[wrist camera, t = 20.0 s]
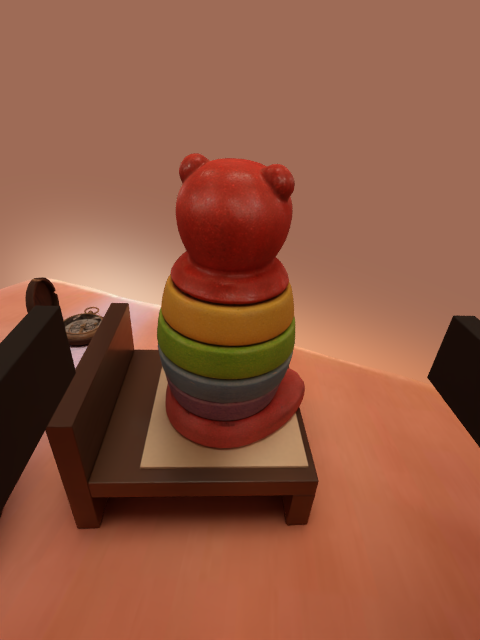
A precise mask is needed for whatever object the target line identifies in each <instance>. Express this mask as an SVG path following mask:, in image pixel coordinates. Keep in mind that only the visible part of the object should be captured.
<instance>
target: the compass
mask: <svg viewBox="0 0 480 640" xmlns="http://www.w3.org/2000/svg"><path fill="white" fill-rule="evenodd" d="M54 291H55V288H54V286H53V284H52V283H51V282H50V281H49V280H48V279H46V278H34V279H32V280H31V282H30V283H29V285H28V288H27V291H26V308H27V312H28V313H29V312H30V311H31V309H32V308H33V307H34V306H35V305H37V306H59V300H58V295H57V294H55V293H54ZM90 308H96V309H98V308H97V307H90ZM90 308H87V309H86V310H88V309H90ZM86 310H85V311H84V312H85V313H84V314H77V315H74V316H71V317H69V318H67V319H65V320H64V325H65V329H66V333H67V338H68V342H69V345H86V344H89V343H90V342H91V340H92V338H93V336H94V334H95V332H96V331H97V329H98V327H99V325H100V323H101V321H102V320H103V318H104V317H101V316H99V315H96V313H98V312H99V309H98V311H97V312H95V313H93V311H89V312H88V313H86Z"/></svg>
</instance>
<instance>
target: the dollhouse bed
mask: <svg viewBox="0 0 480 640" xmlns="http://www.w3.org/2000/svg"><path fill="white" fill-rule="evenodd" d="M288 368H289V366H288ZM75 371H76V374H75V376H74V378H73V379H72V381H71V383H70V385H69V387H68V389H67V391H66V392H65V394H64V396H63V398H62V400H61V402H60V404H59V405H58V407H57V409H56V411H55V413H54V415H53V417H52V418H51V420H50V422H49V424H48V426H47V428H46V429H45V430H46V434H47V437H48V440H49V443H50V446H51V449H52V452H53V455H54V458H55V461H56V464H57V467H58V470H59V473H60V476H61V479H62V482H63V485H64V488H65V491H66V494H67V497H68V500H69V503H70V507H71V510H72V513H73V516H74V519H75V522H76V525H77V528H99V527H100V524H101V521H102V517H103V513H104V510H105V506H106V503H107V499H108V497H171V496H256V495H282V498H283V505H284V511H285V518H286V524H287V525H297V524H307V522H308V519H309V515H310V511H311V508H312V504H313V500H314V497H315V492H316V489H317V485H318V477H317V473H316V469H315V466H314V462H313V458H312V454H311V450H310V446H309V442H308V439H307V435H306V431H305V427H304V423H303V419H302V415H301V412H300V408H298V409H297V411H296V412H295V414H294V415H293V416H292V417H291V418H290V420H288V421H287V422H286V423H285V424H284V425H283V426H282V427H280V428H279V429H278V430H276V431H275V432H273V433H272V434H270V435H268V436H266V437H265V438H262V439H260V440H258V441H256V442H253V443H251V444H248V445H245V446H240V447H234V448H215V447H209V446H204V445H201V444H198V443H195V442H193V441H191V440H189V439H188V438H186V437H184V436H183V435H182V434H180V433H179V432H178V431H177V430H176V429H175V428H174V427H173V425H172V424H171V422H170V421H169V419H168V416H167V413H166V407H165V401H166V390H167V384H168V381H167V378H166V375H165V372H164V370H163V367H162V363H161V359H160V355H159V350H134V344H133V336H132V328H131V320H130V312H129V304H128V303H111V305H110V307H109V308H108V310H107V312H106V314H105V316H104V318H103V320H102V321H101V323H100V325H99V327H98V329H97V331H96V332H95V334H94V336H93V338H92V340H91V342H90V343H89V345H88V347H87V349H86V351H85V353H84V354H83V356H82V358H81V360H80V362H79V364H78V365H77V367H76V369H75Z"/></svg>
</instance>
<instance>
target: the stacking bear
mask: <svg viewBox="0 0 480 640" xmlns="http://www.w3.org/2000/svg"><path fill="white" fill-rule="evenodd" d="M179 174H180V178H181V181H182V183H183V185H182V187H181V189H180V191H179V193H178V197H177V202H176V220H177V226H178V231H179V234H180V237H181V239H182V242H183V244H184V246H185V248H186V250H187V251H186V252H185V253H183V254H182V255H181V256H180V257H179V258H178V259H177V261H176V262H175V264H174V265H173V267H172V269H171V274H170V276H169V277H168V279H167V282H166V285H165V288H164V293H163V297H162V305H161V309H160V312H159V318H158V328H157V339H158V349H159V355H160V359H161V363H162V367H163V370H164V372H165V375H166V378H167V381H168V384H167V390H166V401H165V407H166V413H167V416H168V419H169V421H170V422H171V424H172V425H173V427H174V428H175V429H176V430H177V431H178V432H179V433H180V434H182V435H183V436H184V437H186V438H188V439H189V440H191V441H193V442H195V443H198V444H201V445H204V446H209V447H215V448H234V447H240V446H245V445H248V444H251V443H253V442H256V441H258V440H260V439H262V438H265V437H266V436H268V435H270V434H272V433H273V432H275V431H276V430H278V429H279V428H280V427H282V426H283V425H284V424H285V423H286V422H287V421H288V420H290V418H291V417H292V416H293V415H294V414H295V412H296V411H297V409H298V408H299V406H300V404H301V402H302V399H303V396H304V391H305V386H304V382H303V381H302V379H301V378H300V376H299V375H298V373H297V372H295V371H293V370H291V369H289V368H288V366H289V364H290V361H291V358H292V354H293V348H294V344H295V317H294V303H293V295H292V288H291V285H290V283H289V279H288V274H287V272H286V270H285V268H284V266H283V265H282V263H281V262H280V261H279V260H278V259H277V258H276V255H277V254H278V252H279V251H280V249H281V247H282V246H283V244H284V242H285V240H286V238H287V235H288V232H289V229H290V224H291V220H292V201H291V197H290V196H291V194H292V193H293V190H294V185H295V183H294V178H293V176H292V174H291V173H290V171H289V170H288V169H287V168H286V167H285V166H283V165H280V164H272V165H270V166H268V167H266V166H265V165H262V164H260V163H257V162H254V161H250V160H245V159H234V158H233V159H232V158H225V159H217V160H213V161H209V160H208V159H207V158H205V157H204V156H202V155H201V154H198V153H194V154H190V155H188V156H186V157H185V158H184V160H183V161H182V162H181V165H180V168H179Z"/></svg>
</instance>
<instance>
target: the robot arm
mask: <svg viewBox="0 0 480 640" xmlns="http://www.w3.org/2000/svg"><path fill="white" fill-rule="evenodd" d="M75 374H76V371H75V367H74V363H73V358H72V354H71V350H70V346H69V342H68V338H67V333H66V329H65V325H64V321H63V317H62V312H61V308H60V306H37V305H35V306H34V307H33V308H32V309H31V311H30V312H29V313H28V314H27V315H26V316H25V317H24V318H23V319H22V320H21V321H20V323H19V324H18V325H17V326H16V327H15V328H14V329H13V330H12V331H11V332H10V333H9V334H8V336H7V337H6V338H5V339H4V340H3V341H2V342H1V343H0V513H1V511H2V509H3V507H4V506H5V504H6V502H7V500H8V498H9V496H10V494H11V493H12V491H13V489H14V487H15V485H16V483H17V481H18V480H19V478H20V476H21V474H22V472H23V470H24V468H25V467H26V465H27V463H28V461H29V459H30V457H31V455H32V454H33V452H34V450H35V448H36V446H37V444H38V442H39V441H40V439H41V437H42V435H43V433H44V431H45V429H46V428H47V426H48V424H49V422H50V420H51V418H52V417H53V415H54V413H55V411H56V409H57V407H58V405H59V404H60V402H61V400H62V398H63V396H64V394H65V392H66V391H67V389H68V387H69V385H70V383H71V381H72V379H73V378H74V376H75ZM427 378H428V379H429V380H430V382H431V383H432V384H433V386H434V387H435V388H436V390H437V391H438V392H439V394H440V395H441V396H442V398H443V399H444V400H445V402H446V403H447V404H448V406H449V407H450V408H451V410H452V411H453V412H454V414H455V415H456V416H457V418H458V419H459V420H460V422H461V423H462V424H463V426H464V427H465V428H466V430H467V431H468V432H469V434H470V435H471V436H472V438H473V439H474V440H475V442H476V443H477V444H478V446H479V447H480V320H479V319H478V318H476V317H475V316H453V318H452V320H451V322H450V325H449V327H448V330H447V332H446V334H445V336H444V339H443V341H442V344H441V346H440V348H439V351H438V353H437V356H436V358H435V360H434V363H433V365H432V368H431V370H430V372H429V375H428V377H427Z"/></svg>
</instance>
